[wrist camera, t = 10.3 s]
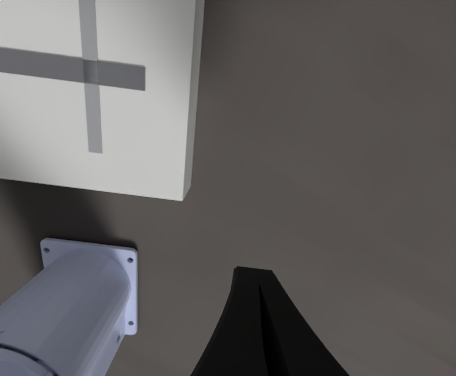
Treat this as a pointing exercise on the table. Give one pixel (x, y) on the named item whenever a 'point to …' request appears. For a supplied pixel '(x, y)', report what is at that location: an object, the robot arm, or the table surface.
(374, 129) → the table surface
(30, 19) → the white flat rectangular block
